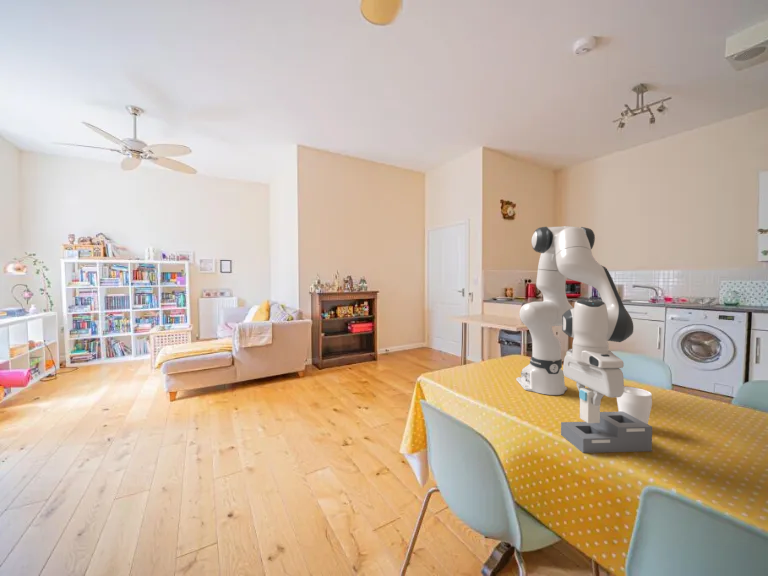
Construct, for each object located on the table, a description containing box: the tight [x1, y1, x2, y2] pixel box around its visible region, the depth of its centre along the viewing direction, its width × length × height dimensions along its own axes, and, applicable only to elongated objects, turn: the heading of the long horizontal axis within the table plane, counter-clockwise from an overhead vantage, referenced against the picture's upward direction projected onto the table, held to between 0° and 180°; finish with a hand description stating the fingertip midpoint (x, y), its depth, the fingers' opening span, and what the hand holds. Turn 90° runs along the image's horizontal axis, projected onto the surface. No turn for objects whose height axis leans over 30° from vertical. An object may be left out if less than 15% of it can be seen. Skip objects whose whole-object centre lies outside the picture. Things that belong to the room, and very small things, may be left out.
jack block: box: [560, 411, 653, 454], centre depth 91 cm, size 10×20×7 cm, turn 93°
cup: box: [616, 385, 653, 425], centre depth 101 cm, size 9×9×12 cm
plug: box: [578, 387, 601, 423], centre depth 91 cm, size 4×4×9 cm
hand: (589, 401), depth 91 cm, fingers closed on plug, 3 cm apart
